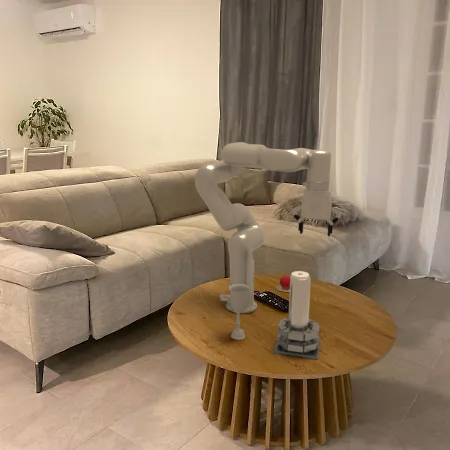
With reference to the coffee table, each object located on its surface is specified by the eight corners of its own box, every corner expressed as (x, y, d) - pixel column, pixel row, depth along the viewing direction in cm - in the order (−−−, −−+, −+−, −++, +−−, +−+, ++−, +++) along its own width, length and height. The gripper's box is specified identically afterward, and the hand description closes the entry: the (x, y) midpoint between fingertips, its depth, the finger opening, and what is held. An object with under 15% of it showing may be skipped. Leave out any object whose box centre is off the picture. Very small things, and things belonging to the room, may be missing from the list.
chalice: (241, 342, 159) (242, 293, 155) (224, 337, 163) (224, 288, 158) (251, 334, 165) (252, 286, 161) (235, 329, 169) (235, 282, 164)
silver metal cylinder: (306, 350, 153) (310, 277, 147) (286, 348, 154) (289, 276, 148) (307, 340, 159) (311, 270, 153) (288, 339, 160) (291, 269, 154)
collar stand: (273, 353, 152) (274, 331, 150) (280, 335, 164) (281, 314, 162) (316, 360, 148) (318, 337, 146) (320, 341, 161) (322, 319, 159)
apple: (273, 286, 210) (274, 273, 208) (290, 285, 212) (291, 271, 210) (280, 293, 202) (280, 279, 201) (297, 291, 204) (298, 277, 203)
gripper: (291, 186, 161) (288, 234, 165) (342, 189, 156) (339, 239, 160) (294, 183, 168) (292, 229, 172) (344, 186, 163) (340, 233, 167)
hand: (315, 234), depth 166 cm, fingers open, 9 cm apart
